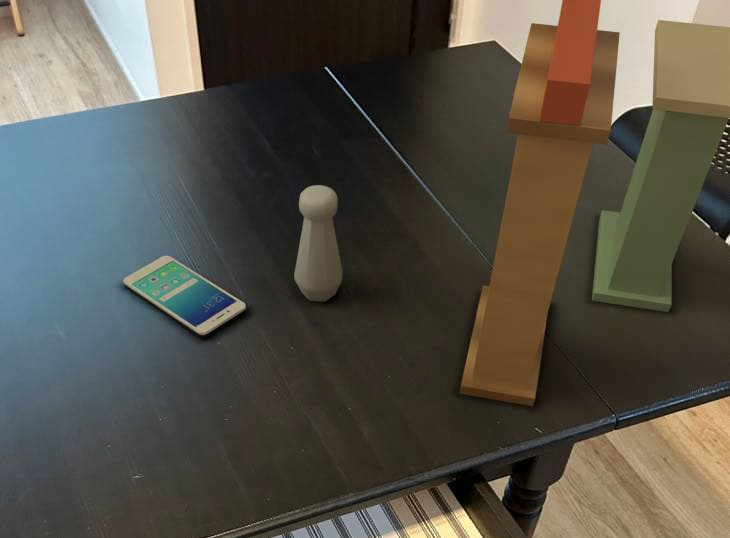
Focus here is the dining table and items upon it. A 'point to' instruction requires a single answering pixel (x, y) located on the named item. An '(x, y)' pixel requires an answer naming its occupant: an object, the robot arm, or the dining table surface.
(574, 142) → the tall wooden pedestal
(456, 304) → the dining table surface
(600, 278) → the green pedestal column
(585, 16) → the bar
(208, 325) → the smartphone
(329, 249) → the salt shaker
